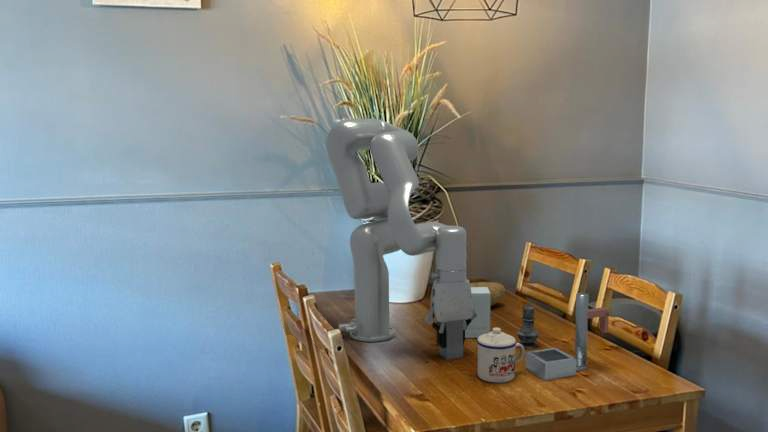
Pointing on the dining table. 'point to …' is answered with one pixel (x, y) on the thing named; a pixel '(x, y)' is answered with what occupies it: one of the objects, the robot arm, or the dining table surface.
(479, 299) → the supplement box
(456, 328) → the grey tall block
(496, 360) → the teacup with lid
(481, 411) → the dining table surface
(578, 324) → the water pump with trough
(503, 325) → the dining table surface
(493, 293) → the potato
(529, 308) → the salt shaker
